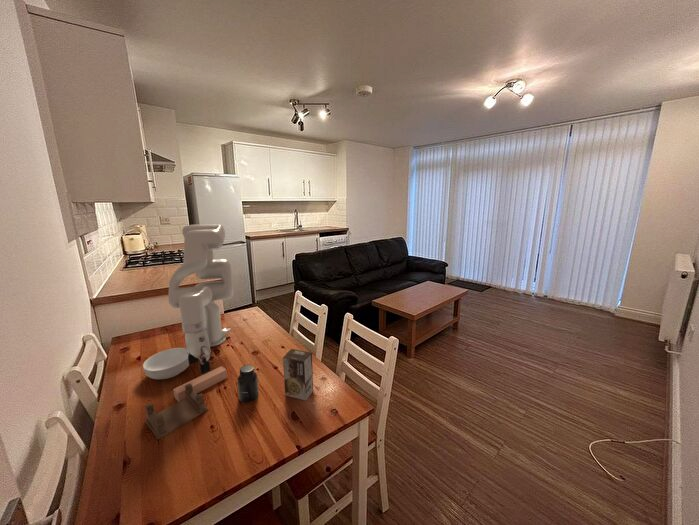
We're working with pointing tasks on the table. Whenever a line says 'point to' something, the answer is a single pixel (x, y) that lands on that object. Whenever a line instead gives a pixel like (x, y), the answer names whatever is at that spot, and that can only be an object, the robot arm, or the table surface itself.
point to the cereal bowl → (166, 363)
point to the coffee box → (298, 374)
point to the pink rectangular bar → (201, 382)
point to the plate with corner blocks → (175, 413)
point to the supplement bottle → (247, 384)
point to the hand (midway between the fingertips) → (199, 367)
